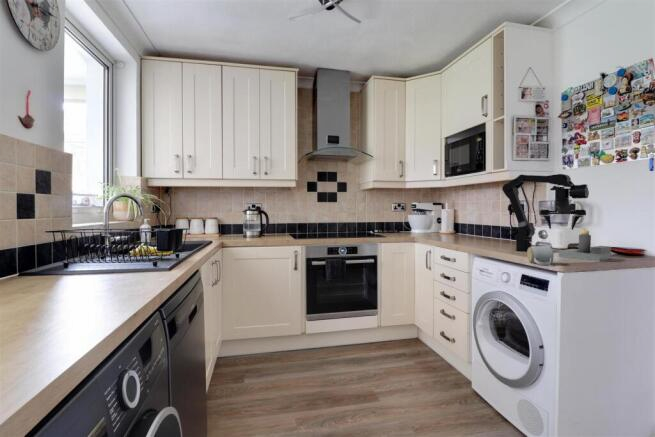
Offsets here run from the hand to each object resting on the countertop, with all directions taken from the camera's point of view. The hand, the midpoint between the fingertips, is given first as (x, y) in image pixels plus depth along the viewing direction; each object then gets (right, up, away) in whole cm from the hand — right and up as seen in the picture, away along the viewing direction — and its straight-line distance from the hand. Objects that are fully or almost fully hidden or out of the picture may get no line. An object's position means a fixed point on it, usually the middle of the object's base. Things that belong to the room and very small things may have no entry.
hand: (561, 229), depth 160 cm
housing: (+3, -13, -10) cm, 17 cm away
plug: (+3, -13, -10) cm, 17 cm away
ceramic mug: (-28, -14, -25) cm, 40 cm away
